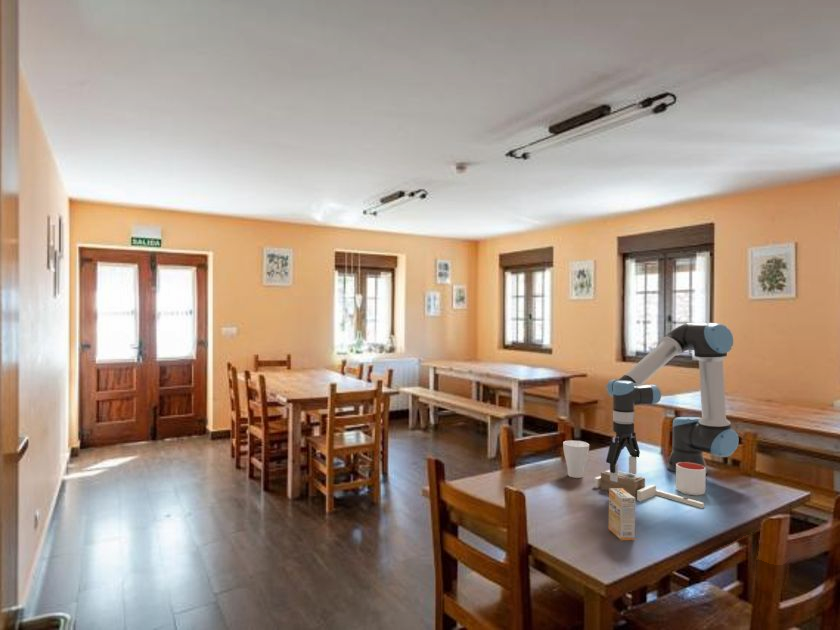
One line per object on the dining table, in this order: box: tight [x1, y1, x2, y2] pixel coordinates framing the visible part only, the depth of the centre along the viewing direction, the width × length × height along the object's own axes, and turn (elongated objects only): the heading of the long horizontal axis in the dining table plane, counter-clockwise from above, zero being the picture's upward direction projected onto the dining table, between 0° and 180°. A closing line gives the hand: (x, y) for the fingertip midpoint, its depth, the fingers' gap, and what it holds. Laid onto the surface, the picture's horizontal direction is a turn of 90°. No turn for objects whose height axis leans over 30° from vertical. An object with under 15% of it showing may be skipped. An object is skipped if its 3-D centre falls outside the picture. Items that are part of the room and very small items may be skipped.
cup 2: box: [675, 462, 707, 496], centre depth 197 cm, size 10×10×10 cm
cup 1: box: [562, 440, 590, 479], centre depth 214 cm, size 10×10×14 cm
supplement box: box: [608, 488, 636, 541], centre depth 158 cm, size 8×5×13 cm, turn 5°
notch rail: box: [593, 475, 705, 509], centre depth 191 cm, size 12×36×4 cm, turn 39°
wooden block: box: [600, 468, 646, 500], centre depth 196 cm, size 7×14×7 cm, turn 39°
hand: (623, 477), depth 196 cm, fingers open, 13 cm apart
